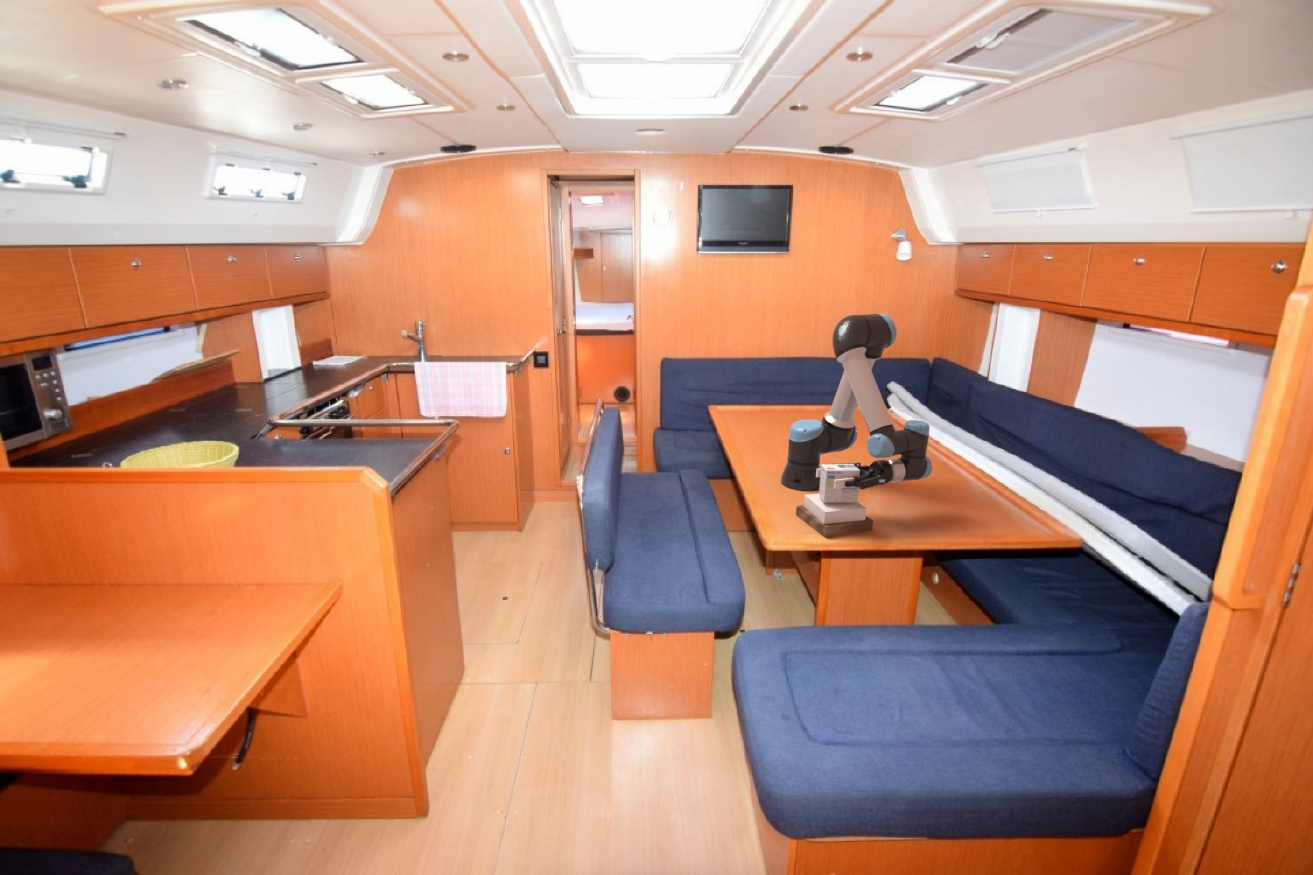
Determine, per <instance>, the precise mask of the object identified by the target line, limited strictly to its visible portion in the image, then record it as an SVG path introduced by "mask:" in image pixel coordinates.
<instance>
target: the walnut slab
mask: <svg viewBox="0 0 1313 875" xmlns="http://www.w3.org/2000/svg"><path fill="white" fill-rule="evenodd" d="M803 505H804V504H801V505H796V508H795V509H796V511H795V516H796V517H798V518H799V519H800V520H801V521H803V522H804V523H805V524H806V525H807V526H809V527H810V528H812V529H813V530H814V531H815V532H816V533H818V534H820V535H821V537H823V538H824V539H825V538H831V537H837V536H839V537H840V536H844V535H845V536H846V535H851V534H857V533H865V532H871V531H873V528H874V526H873V525H874V519H872V518H870V517H869V516H867V515H866V518H865V520H861V521H850V522H840V523H830V524H823V523H822V522H821V521H820V520H819V519H818V518H816V517H815V516H814V515H813V514H812V513H811V512H810V511H808V510H807V509H806V508H805V507H804V506H803Z"/></svg>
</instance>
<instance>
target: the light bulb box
mask: <svg viewBox="0 0 1313 875" xmlns="http://www.w3.org/2000/svg"><path fill="white" fill-rule="evenodd" d="M820 468H821V473H820V488H819V489H818V490H819V491H818V493H819V496H820V498H821V499H822V500H823V502H824V503H825V502H858V497H859V487H854V486H853V487H846V488H838V489H834V480H836V479H844V478H854V480H855V477H859V475H860V470H859V469H858V468H857V467H856V466H855V465H854V464H847V463H830V464H825V463H824V464H823V463H820Z"/></svg>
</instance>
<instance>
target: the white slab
mask: <svg viewBox="0 0 1313 875" xmlns="http://www.w3.org/2000/svg"><path fill="white" fill-rule="evenodd" d="M802 505H803V506H804V507H805V508H806V509H807V510H808V511H810V512H811V513H812V514H813V515H814V516H815V517H816V518H818V519H819V520H820V521H821V522H822V523H823V524H830V523H840V522H850V521H861V520H865V518H866V516H867V507H866V506H864V505H863V504H862V503H860V502H859V501H857V502H825V503H824V502H823V500H822V499H821V498H820V496H819V492H818V493H810V494H808V493H807V494H804V496H803V504H802Z"/></svg>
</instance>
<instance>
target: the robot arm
mask: <svg viewBox="0 0 1313 875" xmlns="http://www.w3.org/2000/svg"><path fill="white" fill-rule="evenodd" d="M897 335H898V334H897V327H896V326H895V321H894V320H893V318H892V317H890V316H889V315H887V314H885V313H877V312H876V313H869V314H866V313H865V314H851V315H847V316H845V317H843V318H842V319H840V321H838V322H837V324H836V326H835V328H834V329H833V333H832V340H831V341H832V349H833V354H834V357H835V359H836V361H837V362H838V363H839V364H841V365H842V367H843V373H842V376H841V378H840V382H839V385H838V387H837V390H836V393H835V396H834V399H833V401H832V404H831V408H830V409H829V410H828V411H826V412H824V414H823V417H822V420H821V421H820V420H817V419H814V418H813V419H811V418H810V419H806V418H805V419H800V420H797V421H795V422H793V423H792V424H791V425H790V429H789V432H788V448H787V449H788V450H787V460H786V465H785V467H784V469H783V471H782V473H781V475H780V476H781V477H780V483H781V484H782V485H783V486H785V487H786V488H789V489H792V490H798V491H815V490H819V489H820V473H821V455H826V454H831V453H836V452H842V451H845V450H848V449H850V448H851V447H852V446H854V445H855V443H856V441H857V438H858V432H857V430H858V429H857V425H856V420H855V419H854V417H855V415H856V412H857V409H858V408H859V410H860V413H861V415H862V418H863V420H864V423H865V425H866V428H867V430H868V432H869V437H868V439H867V440H866V449H867V452H868V453H869V455H870V456H871V457H873V458H877V459H881V460H874V461H873V462H871V464H870V465H861V462H852V463H851V462H849V463H846V464H854V465H855V466H856V467H857V468H858V469H859V470H860V475H859V477H855V480H854V478H844V479H836V480H834V489H838V488H846V487H853V486H854V487H858V488H859V489H860V490H865V489H868V488H871V487H872V488H873V487H875V486H882V485H885V484H889V483H890V484H894V483H897V482H905V481H919V480H922V479H926V478H928V477H930V475H931V474H932V472H933V466H932V461H931V459H930V458H929V457H928V456H927V450H928V444H929V438H930V425H929V423H928V422H925V421H922V420H916V419H915V420H914V419H911V420H907V421H905V423H904V426H903V429H899V430H896V429H895V426H894V424H893V421H892V419H891V417H890V414H889V411H888V408H887V406H886V404H885V401H884V399H883V396H882V393H881V391H880V389H879V387H878V384H877V382H876V379H875V376H874V374H873V372H872V369H873V367H874V364H875V362H876V361H878V360H880V359H881V358H882V356H883V354H884V350H885V349H888V348H889V347H891V346H893V344H894V343H895V341H896V339H897ZM897 455H900V457H899V458H898V457H897V458H896V457H895V458H890V457H894V456H897ZM883 458H887V459H883ZM888 458H889V459H888Z"/></svg>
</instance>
